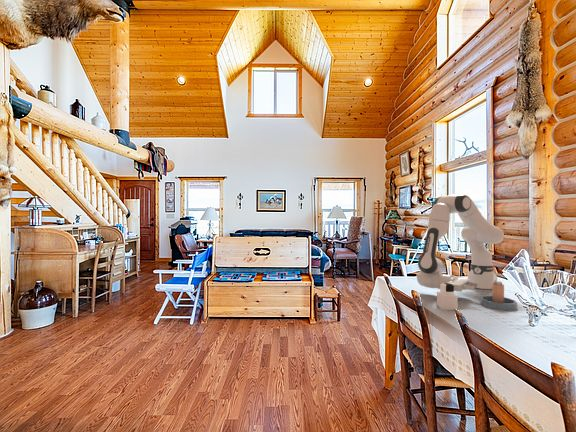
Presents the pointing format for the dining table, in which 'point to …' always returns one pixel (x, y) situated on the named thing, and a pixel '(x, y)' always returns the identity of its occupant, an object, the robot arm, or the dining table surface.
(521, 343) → the dining table surface
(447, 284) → the medicine bottle
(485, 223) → the robot arm
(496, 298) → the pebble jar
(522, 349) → the dining table surface
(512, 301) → the bowl
